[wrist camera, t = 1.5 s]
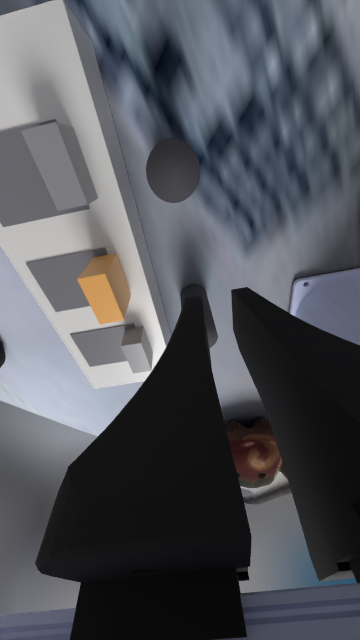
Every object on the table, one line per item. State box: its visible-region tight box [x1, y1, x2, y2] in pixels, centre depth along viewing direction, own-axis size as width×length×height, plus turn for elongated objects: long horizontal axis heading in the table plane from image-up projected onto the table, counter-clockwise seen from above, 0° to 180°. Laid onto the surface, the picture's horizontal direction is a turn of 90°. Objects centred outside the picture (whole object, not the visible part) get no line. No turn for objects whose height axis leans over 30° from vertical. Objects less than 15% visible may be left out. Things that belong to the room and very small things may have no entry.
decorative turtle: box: [226, 417, 288, 488], centre depth 32 cm, size 10×15×8 cm, turn 106°
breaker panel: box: [0, 0, 171, 389], centre depth 16 cm, size 8×22×6 cm, turn 10°
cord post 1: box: [146, 139, 200, 203], centre depth 12 cm, size 2×2×6 cm
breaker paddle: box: [77, 253, 131, 325], centre depth 13 cm, size 2×3×3 cm, turn 10°
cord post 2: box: [181, 284, 218, 348], centre depth 18 cm, size 2×2×6 cm
